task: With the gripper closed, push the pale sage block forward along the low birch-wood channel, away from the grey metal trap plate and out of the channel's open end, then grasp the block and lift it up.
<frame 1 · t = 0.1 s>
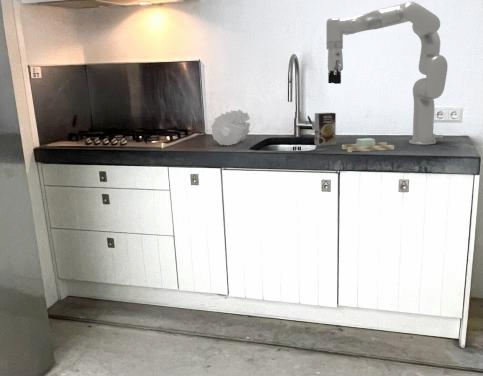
hand: (334, 83, 242), 31 cm above the worktop, tool pointing down, fingers open, 9 cm apart
sage block: (365, 149, 242), resting in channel
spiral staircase: (232, 143, 278), on the worktop
coffee box: (325, 145, 261), on the worktop
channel: (367, 149, 242), on the worktop
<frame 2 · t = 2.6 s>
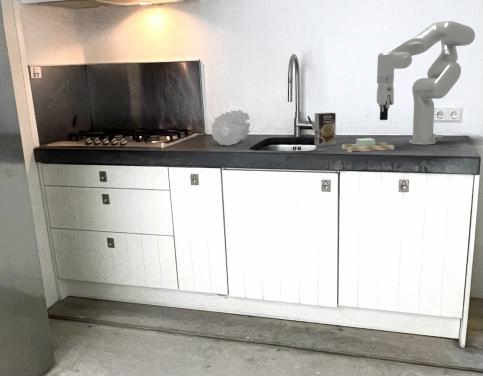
hand: (383, 119, 240), 14 cm above the worktop, tool pointing down, fingers closed
nothing on the worktop moved.
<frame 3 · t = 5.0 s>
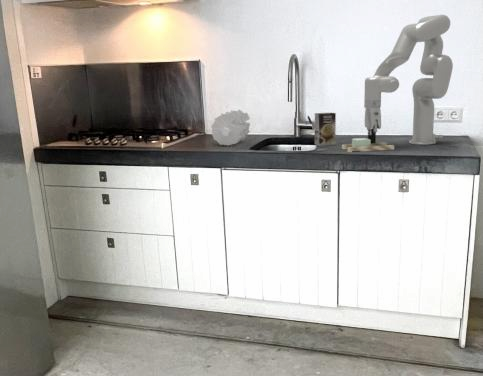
hand: (371, 143, 242), 3 cm above the worktop, tool pointing down, fingers closed
sage block: (361, 149, 242), resting in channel, touching gripper
everything else where it was.
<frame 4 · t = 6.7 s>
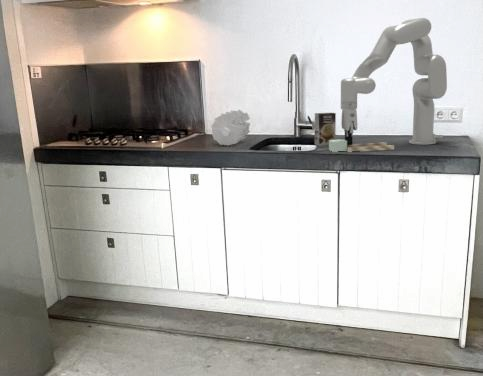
hand: (348, 144, 241), 3 cm above the worktop, tool pointing down, fingers closed
sage block: (337, 150, 241), on the worktop
everything else where it was.
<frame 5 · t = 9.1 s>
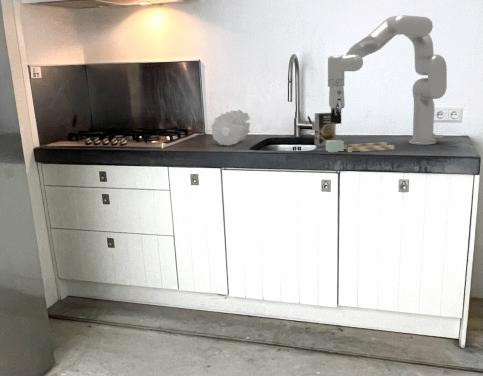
hand: (335, 122, 238), 13 cm above the worktop, tool pointing down, fingers open, 4 cm apart
sage block: (334, 151, 241), on the worktop
everything else where it was.
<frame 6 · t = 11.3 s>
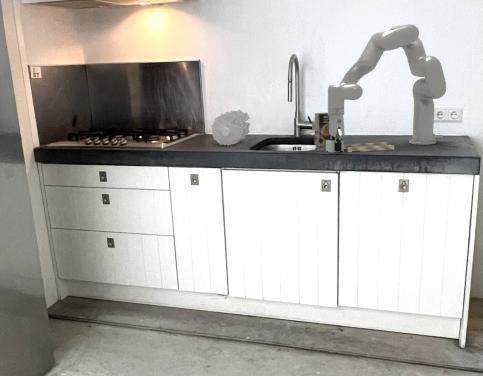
hand: (335, 149, 241), 1 cm above the worktop, tool pointing down, fingers closed on sage block, 6 cm apart
sage block: (334, 151, 241), on the worktop, touching gripper
everything else where it was.
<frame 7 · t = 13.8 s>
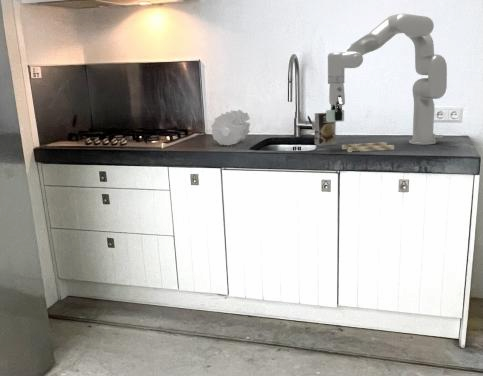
hand: (336, 119, 238), 15 cm above the worktop, tool pointing down, fingers closed on sage block, 6 cm apart
sage block: (335, 121, 238), point 14 cm above the worktop, touching gripper
everything else where it was.
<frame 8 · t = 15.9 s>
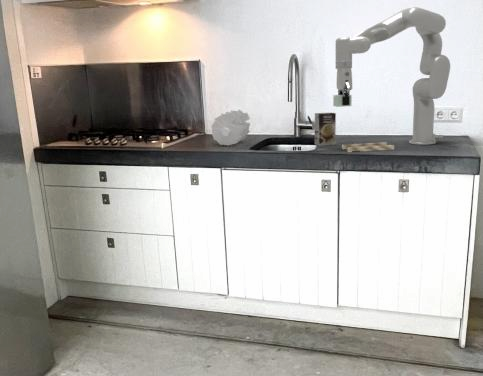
hand: (343, 104, 239), 21 cm above the worktop, tool pointing down, fingers closed on sage block, 6 cm apart
sage block: (342, 105, 239), point 21 cm above the worktop, touching gripper
everything else where it was.
at the end: the gripper is holding sage block; sage block point 20.7 cm above the worktop; sage block moved 23.5 cm from its start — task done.
